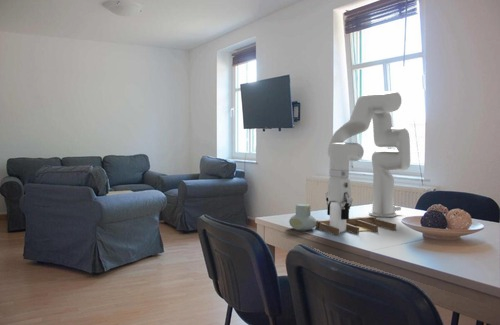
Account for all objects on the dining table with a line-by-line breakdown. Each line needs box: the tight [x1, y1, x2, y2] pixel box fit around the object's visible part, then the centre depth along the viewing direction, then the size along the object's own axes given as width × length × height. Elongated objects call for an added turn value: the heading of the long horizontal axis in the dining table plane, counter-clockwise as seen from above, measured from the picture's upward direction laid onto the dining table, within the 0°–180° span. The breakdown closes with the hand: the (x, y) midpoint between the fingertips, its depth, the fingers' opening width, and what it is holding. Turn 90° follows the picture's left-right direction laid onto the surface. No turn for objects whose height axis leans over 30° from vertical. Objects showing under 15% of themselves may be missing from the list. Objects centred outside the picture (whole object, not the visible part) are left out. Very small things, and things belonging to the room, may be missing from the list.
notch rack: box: [314, 215, 397, 237], centre depth 165 cm, size 29×15×3 cm, turn 111°
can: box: [329, 201, 347, 233], centre depth 161 cm, size 6×6×12 cm
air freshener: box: [288, 203, 317, 232], centre depth 163 cm, size 11×8×10 cm
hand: (337, 217), depth 161 cm, fingers open, 9 cm apart
